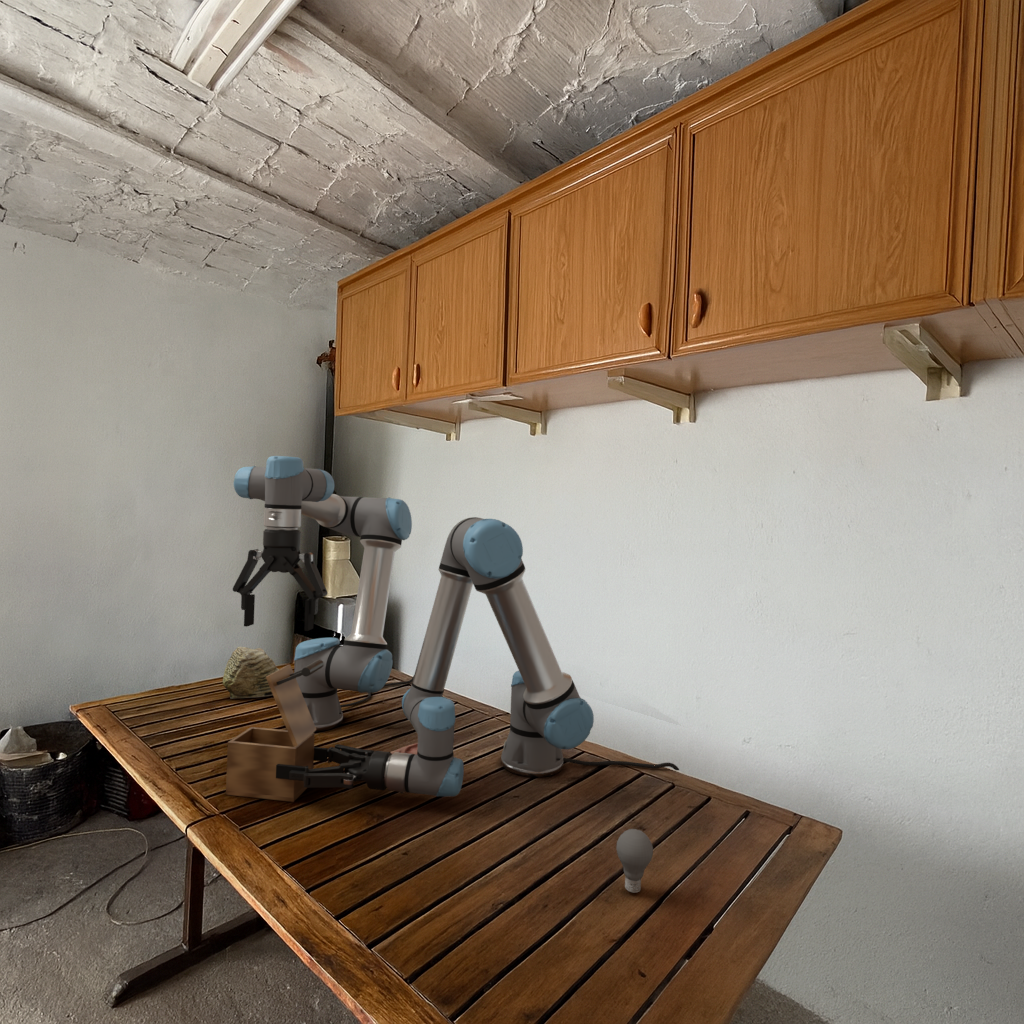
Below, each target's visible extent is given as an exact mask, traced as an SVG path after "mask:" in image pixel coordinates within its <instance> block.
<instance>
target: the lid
mask: <svg viewBox="0 0 1024 1024" xmlns="http://www.w3.org/2000/svg"><path fill="white" fill-rule="evenodd" d="M323 665H324V663H323V661H322V660H317V661H315V662H313V663H312V664H310V665H308V666H306V667H305V668H303V669H302V670H300V671H297V672H295V673H294V671H293V667H292V665H291V664H287V665H285V666H283V667H281V668H280V669H279V670H278V671H276V672H274V673H272V674H270V675H268V676H266V679H267V681H268V684H269V686H270V689H271V691H272V694H273V695H272V697H273V699H274V701H275V703H276V706H277V709H278V711H279V713H280V716H281V718H282V721H283V723H284V725H285V726H284V727H285V729H286V730H287V731H288V733H289V736H290V738H291V741H292V743H293V746H294V747H295V746H298V745H299V744H300V743H301V742H302V741H304V740H305V739H306V738H307V737H309V736H310V735H311V734H312V733H316V732H315V731H316V727H315V725H314V722H313V720H312V717H311V715H310V712H309V710H308V707H307V705H306V702H305V700H304V697H303V695H302V692H301V690H300V688H299V685H298V683H297V680H296V678H297V677H299V676H302V675H303V676H305V677H307V676H309V675H311V674H312V673H314V672H315V671H317V670H319V669H320V668H322V667H323Z"/></svg>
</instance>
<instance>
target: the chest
mask: <svg viewBox="0 0 1024 1024" xmlns="http://www.w3.org/2000/svg"><path fill="white" fill-rule="evenodd" d="M315 738H316V732H313V733H312V734H311V735H310V736H309V737H307V738H306V739H305V740H304V741H302V742H301V743H300V744H299V745H298V746H295V747H294V746H293V743H292V741H291V738H290V736H289V733H288V731H287V729H277V728H266V727H257V726H256V727H255V726H250V727H249V728H247V729H246V730H244V731H243V732H241V733H240V734H238V735H237V736H235V737H234V738H232V739H231V740H229V741H227V753H226V755H227V756H226V759H227V760H226V775H225V777H226V779H225V780H226V781H225V783H226V785H225V795H226V796H234V797H235V796H238V797H246V798H255V799H264V800H274V801H282V802H291V803H294V802H295V801H296V800H297V799H298V798H299V797H300V796H301V795H302V794H303V793H304V792H305V791H306V790H307V789H308V788H305V787H304V781H298V780H288V779H278V778H276V765H277V764H285V765H295V766H308V769H314V747H315V740H316V739H315Z"/></svg>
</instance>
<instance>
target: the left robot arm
mask: <svg viewBox="0 0 1024 1024" xmlns="http://www.w3.org/2000/svg"><path fill="white" fill-rule="evenodd" d="M265 463H266V465H265V466H256V465H252V466H243V467H240V468H239V469H238V470H237V471H236V473H235V474H234V480H233V489H234V492H235V493H236V495H238V496H239V497H240V498H243V499H249V500H260V501H263V502H264V510H263V526H264V527H265V529H264V530H263V531H262V546H263V549H262V550H260V549H258V548H257V549H249V550H248V553H247V560H246V562H245V564H244V566H243V567H242V569H241V572H240V573H239V575H238V577H237V579H236V581H235V583H234V585H233V587H232V591H233V593H238V594H240V596H241V599H240V608H241V610H242V611H244V614H243V627H246V628H247V627H250V626H253V625H254V624H255V605H256V604H255V603H256V594H255V593H254V594H253V591H254V590H255V589H256V588H257V587H258V586H259V584H261V583H262V582H263V580H264V579H265V578H266V577H267V576H268V574H269V573H282V574H286V573H289V574H290V575H291V576H292V577H293V578H294V580H295V582H297V584H298V585H299V586H300V588H301V589H302V590H303V592H304V593H305V595H306V596H307V598H308V599H305V604H304V605H305V606H304V628H303V630H304V631H305V632H308V631H311V630H313V629H314V624H315V623H314V622H315V620H314V619H315V615H317V614H318V612H319V599H320V598H324V597H326V596H327V595H328V590H327V588H326V585H325V583H324V580H323V579H322V576H321V574H320V572H319V569H318V567H317V564H316V562H315V561H316V560H315V553H314V552H312V551H310V552H305V553H301V550H300V548H301V538H302V537H301V535H302V533H301V530H299V528H301V527H302V516H305V517H307V518H310V519H313V520H315V521H316V522H317V523H318V524H319V526H322V527H324V528H327V529H330V530H332V531H334V532H338V533H340V534H342V535H347V536H351V537H356V538H360V539H359V542H360V544H361V546H362V547H363V548H364V549H363V553H362V555H363V556H362V561H361V568H360V575H359V580H358V588H357V594H356V600H355V606H354V612H353V618H352V625H351V630H350V631H351V632H350V634H349V635H348V636H346V637H345V638H344V641H343V645H341V641H340V639H339V638H338V637H318V638H313V639H307V640H304V641H302V642H299V643H298V644H297V645H296V647H295V652H294V659H293V660H294V671H293V673H295V672H297V671H300V670H302V669H303V668H305V667H306V666H308V665H310V664H312V663H313V662H315V661H317V660H322V661H323V663H324V665H323V667H322V668H320V669H319V670H317V671H315V672H314V673H312V674H311V675H309V676H307V677H305V676H303V675H302V676H299V677H297V678H296V680H297V683H298V685H299V688H300V690H301V692H302V695H303V697H304V700H305V702H306V705H307V707H308V710H309V712H310V715H311V717H312V720H313V722H314V725H315V727H316V731H315V732H314V733H316V732H325V731H329V730H332V729H335V728H337V727H339V726H340V725H342V723H343V722H344V714H343V709H342V708H346V707H348V708H349V707H351V706H356V705H359V704H362V703H364V702H366V701H368V700H369V699H371V697H372V694H374V693H375V694H376V693H378V692H380V691H381V690H382V689H383V688H384V687H385V688H386V687H389V686H399V685H400V686H401V685H407V684H411V683H412V681H413V678H414V675H413V676H412V677H411V679H410V680H405V681H398V682H397V681H396V682H389V683H387V682H388V680H389V678H390V675H391V673H392V669H393V664H394V663H393V662H394V661H393V653H392V652H391V651H390V650H389V649H387V647H388V643H387V641H386V640H385V638H384V631H385V622H386V616H387V608H388V601H389V595H390V588H391V580H392V573H393V568H394V567H393V566H394V561H395V553H396V552H397V551H398V550H399V549H400V548H402V542H403V541H405V540H408V539H409V538H410V536H411V533H412V529H413V528H412V527H413V520H412V514H411V509H410V507H409V506H408V504H407V503H406V501H404V500H403V499H400V498H391V497H370V496H345V495H344V496H342V495H339V494H335V493H334V491H335V481H334V478H333V476H332V474H330V473H329V472H328V471H326V470H323V469H320V468H309V467H307V468H306V467H304V461H303V459H302V458H301V457H297V456H288V455H271V456H268V458H267V459H266V462H265ZM261 559H262V560H263V562H264V563H263V564H262V565H261V566H260V567H259V568H258V570H257V572H256V573H255V574H254V576H252V574H253V572H254V570H255V569H256V566H257V564H258V562H259V560H261ZM300 561H302V564H304V566H305V569H306V571H307V575H308V576H309V578H308V577H307V576H306V573H304V571H303V568H302V567H301V566H300V564H299V562H300ZM251 576H252V578H251ZM250 578H251V579H250ZM309 579H310V580H309ZM338 690H342V691H351V692H358V693H360V694H363V693H368V695H367V697H365V698H362V699H360V700H357V701H353V702H350V703H346V704H345V703H344V704H341V702H340V699H339V695H338Z"/></svg>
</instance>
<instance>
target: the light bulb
mask: <svg viewBox="0 0 1024 1024" xmlns="http://www.w3.org/2000/svg"><path fill="white" fill-rule="evenodd" d="M615 849H616V854H617V857H618V859H619V861H620V863H621V865H622V867H623V873H624V874H623V875H624V876H625V878H624V888H625V890H627V891H628V892H630V893H634V894H635V893H639V892H640V891H641V889H642V887H641V886H642V879H643V877H644V875H645V871H646V868H647V867H648V866H649V864H650V863H651V861H652V859H653V855H654V847H653V843H652V841H651V838H649V836H648V835H647V834H646V833H645V832H643V831H642V830H641V829H636V828H629V829H627V830H625V831H623V832H622V833H621V834H620V835H619V837H618V839H617V841H616V847H615Z"/></svg>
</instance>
